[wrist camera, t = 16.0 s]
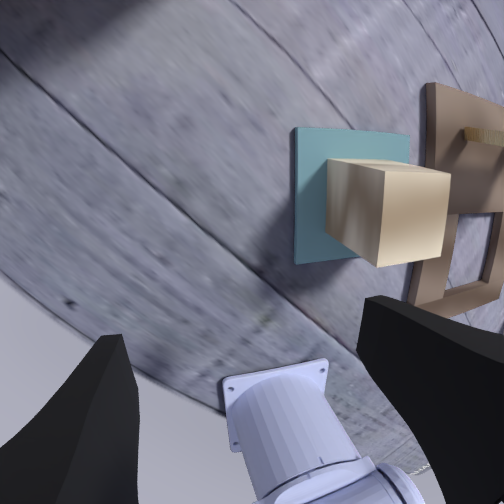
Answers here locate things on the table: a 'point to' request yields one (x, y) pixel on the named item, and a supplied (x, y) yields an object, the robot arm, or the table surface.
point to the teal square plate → (315, 182)
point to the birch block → (387, 209)
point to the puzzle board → (462, 197)
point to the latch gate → (484, 136)
